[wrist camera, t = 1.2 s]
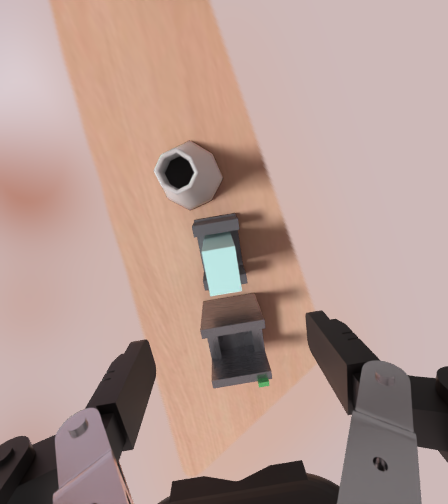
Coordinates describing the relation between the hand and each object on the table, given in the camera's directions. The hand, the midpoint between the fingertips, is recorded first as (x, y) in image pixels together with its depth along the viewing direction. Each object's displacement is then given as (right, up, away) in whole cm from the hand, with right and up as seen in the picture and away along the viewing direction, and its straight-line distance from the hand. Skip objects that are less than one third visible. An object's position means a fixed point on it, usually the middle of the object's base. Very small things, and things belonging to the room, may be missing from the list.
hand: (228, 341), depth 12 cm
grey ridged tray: (-1, +5, +18) cm, 18 cm away
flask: (-4, +13, +15) cm, 21 cm away
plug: (-1, +5, +17) cm, 18 cm away
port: (+1, -5, +21) cm, 21 cm away
